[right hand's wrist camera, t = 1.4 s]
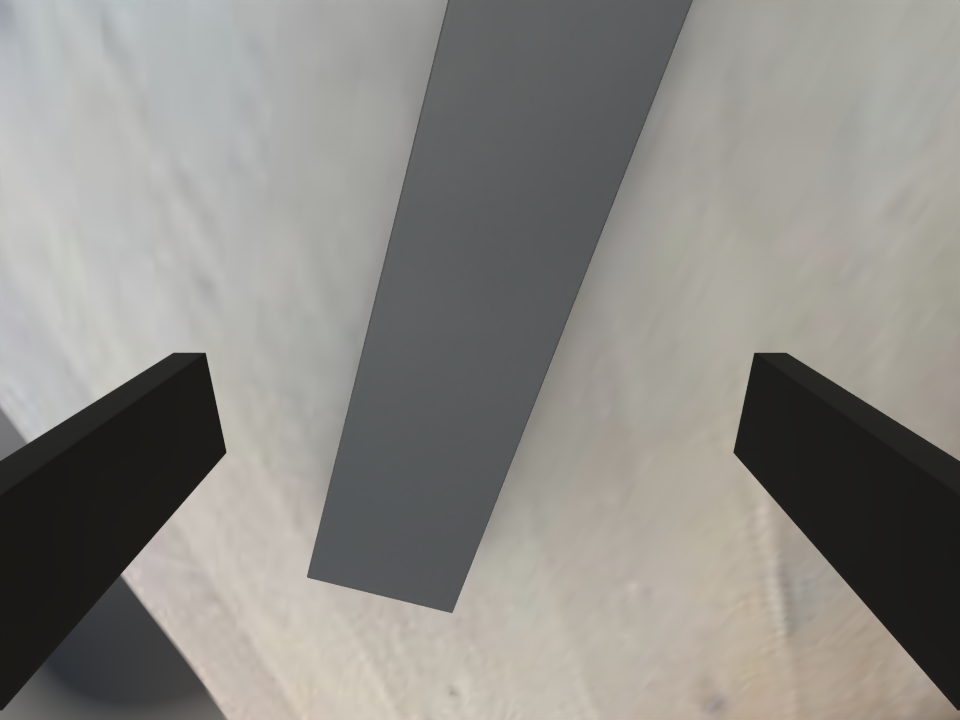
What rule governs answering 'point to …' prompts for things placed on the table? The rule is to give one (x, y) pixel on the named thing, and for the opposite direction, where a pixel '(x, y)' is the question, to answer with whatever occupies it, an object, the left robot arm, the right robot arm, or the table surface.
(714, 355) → the table surface
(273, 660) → the table surface
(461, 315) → the thick board
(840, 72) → the table surface
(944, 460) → the right robot arm
